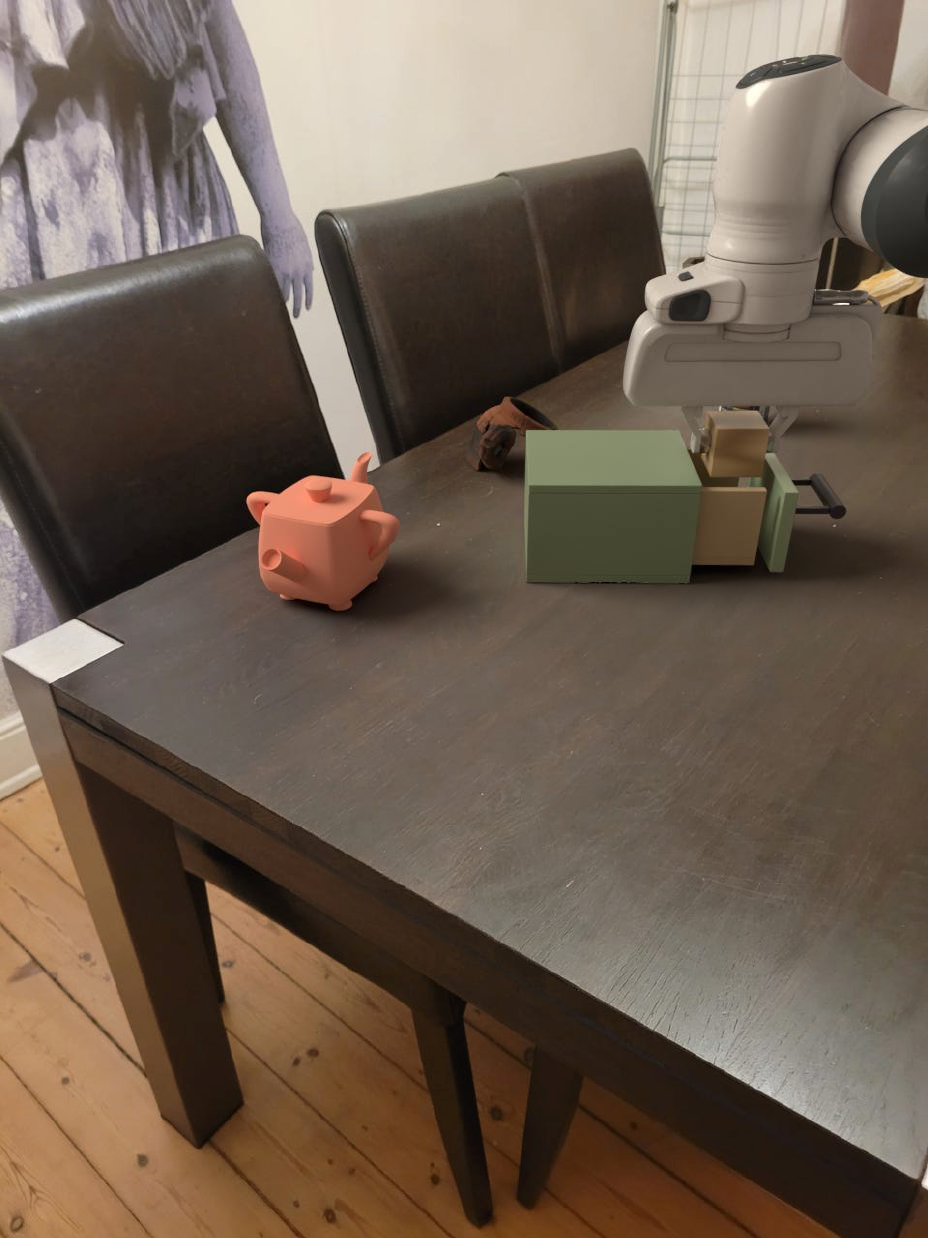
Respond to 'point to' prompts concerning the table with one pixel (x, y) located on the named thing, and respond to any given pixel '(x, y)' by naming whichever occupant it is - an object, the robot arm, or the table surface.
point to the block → (736, 444)
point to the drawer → (753, 514)
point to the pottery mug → (503, 431)
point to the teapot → (323, 537)
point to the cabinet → (609, 506)
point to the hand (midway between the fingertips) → (732, 451)
